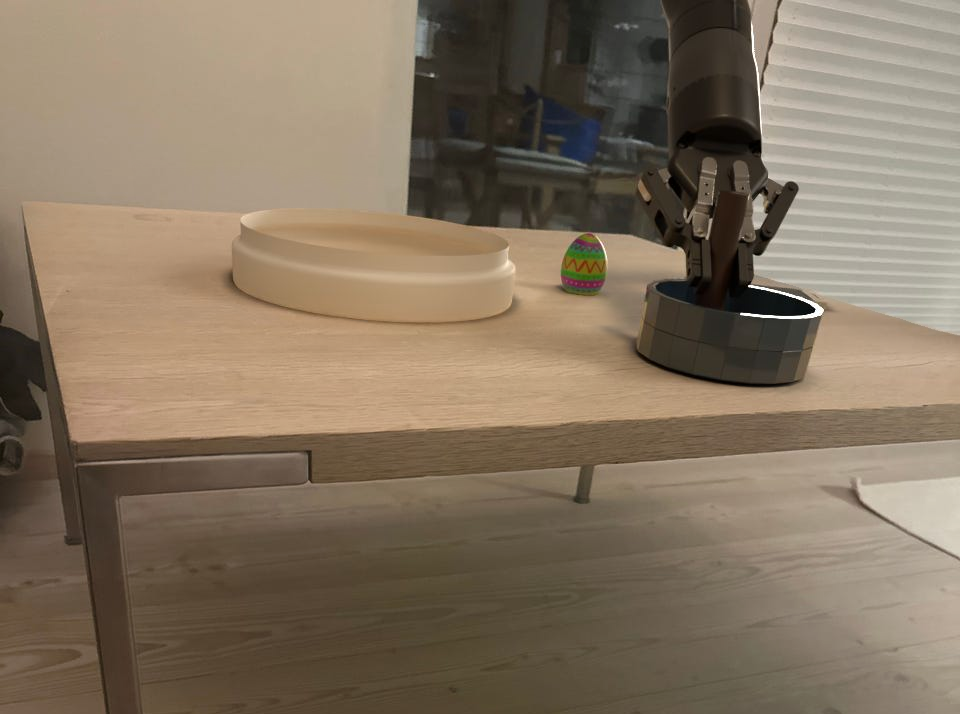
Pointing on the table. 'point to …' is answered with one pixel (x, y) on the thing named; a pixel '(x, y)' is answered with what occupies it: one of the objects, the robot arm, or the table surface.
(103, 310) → the table surface
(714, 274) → the muddler
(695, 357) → the bowl
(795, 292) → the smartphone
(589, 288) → the egg
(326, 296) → the cream round tray
